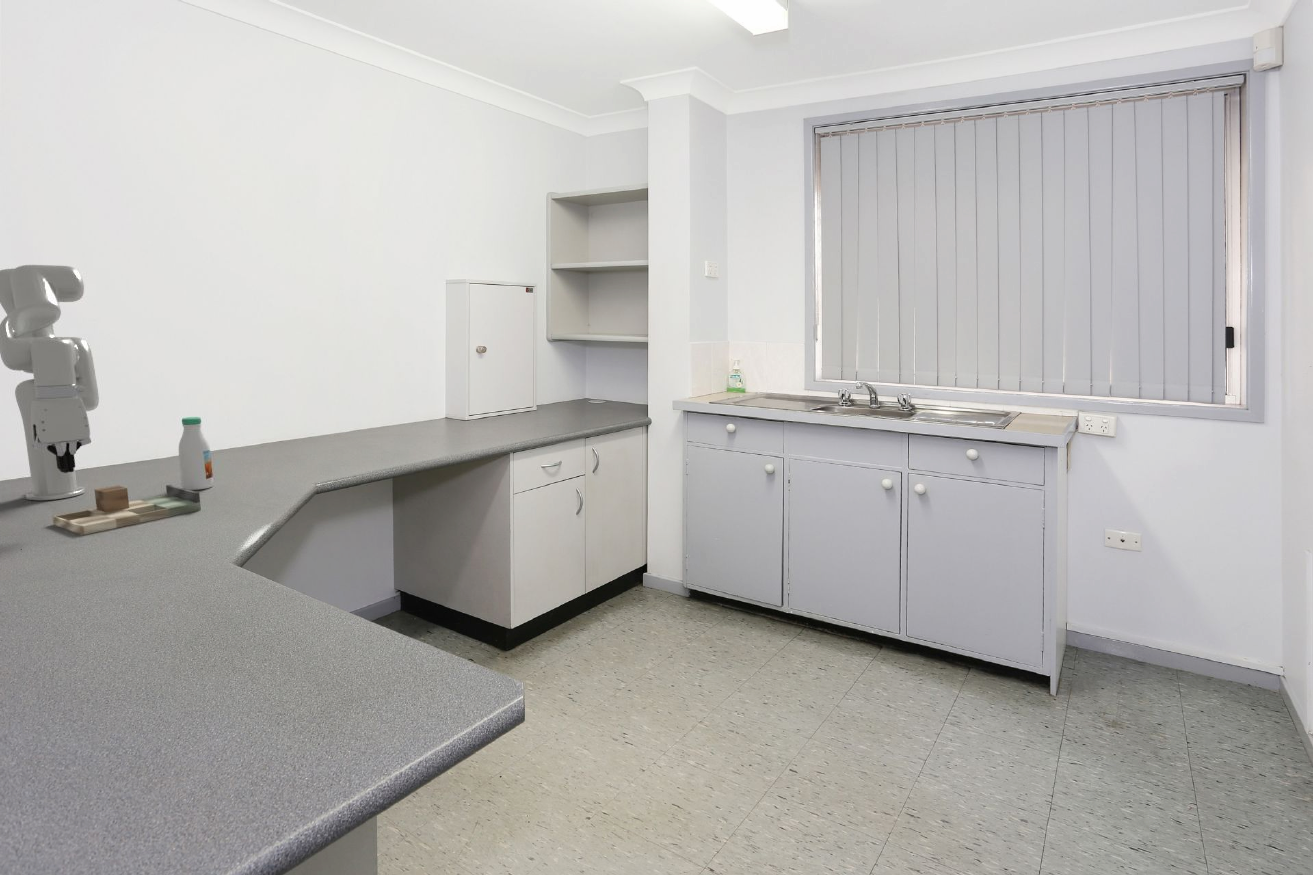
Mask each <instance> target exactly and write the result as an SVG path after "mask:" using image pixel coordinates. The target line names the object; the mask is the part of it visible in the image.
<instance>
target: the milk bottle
mask: <svg viewBox="0 0 1313 875" xmlns="http://www.w3.org/2000/svg"><path fill="white" fill-rule="evenodd" d="M181 424H182V427H183V431H182V435H181V438H180V439H179V440H180V441H179V442H178V443H179V444H178V460H179V471H180V481H181V483H180V484H181V488H183V489H187V490H191V491H197V490H206V489H209V488H212V487H213V486H214V477H213V476H214V474H213V473H214V472H213V466H212V456H211V448H210V447H211V446H210V443H209V441H208V438H207V437H206V436H205V434H204V432H203V430H202V419H201V417H200V416H199V417H198V416H191V417H190V416H189V417H183V418H182V419H181Z"/></svg>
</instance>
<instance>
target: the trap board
mask: <svg viewBox="0 0 1313 875" xmlns="http://www.w3.org/2000/svg"><path fill="white" fill-rule="evenodd" d="M165 489H166V494H164V495H158V496H152V497H147V498H143V499H137V500H132V501H131V500H130V501H129V508H127V509H121V510H116V511H111V512H103V511H100V510H97V507H95V508H89V509H84V510H78V511H73V512H69V513H62V514H58V515H57V514H56V515H53V516H52V523H53V525H54V526H57V527H59V528H62V529H65V530H68V531H70V532H72V533H75V534H77V535H81V536H84V535H88V534H89V535H90V534H93V533H99V532H103V531H108V530H112V529H117V528H121V527H127V526H131V525H136V524H141V523H144V522H146V523H147V522H150V521H151V522H152V521H154V520H159V519H164V518H169V517H173V516H174V517H175V516H179V515H184V514H189V513H193V512H197V511H201V510H202V507H201V497H200V492H199V491H196V490H187V489H183V488H182V487H178V486H175V485H172V484H167V485H165Z"/></svg>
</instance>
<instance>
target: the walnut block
mask: <svg viewBox="0 0 1313 875" xmlns="http://www.w3.org/2000/svg"><path fill="white" fill-rule="evenodd" d="M94 499H95V505H96V506H95V508H97V510H100V511H103V512H111V511H116V510H121V509H127V508H129V502H130V501H129V493H128V488H127V487H126V486H125V487H124V486H122V485H112V486H108V487H107V486H106V487H100V488H95V489H94Z"/></svg>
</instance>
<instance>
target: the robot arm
mask: <svg viewBox="0 0 1313 875" xmlns="http://www.w3.org/2000/svg"><path fill="white" fill-rule="evenodd" d="M84 293H85V284H84V280H83V277H82V275H81V273H80V272H79V270H77V268H75V267H73V266H69V265H48V264H46V265H45V264H44V265H43V264H25V265H19V266H18V267H15V268H6V269H5V268H4V269H0V305H1V307H2V309H3V310H4V312H5V313H6V315H5V317H4V318H3V319H2V320H1V322H0V357H1V361H2V363H3V365H4V366H5V367H6V368H8V369H9V370H12V371H18V372H20V371H23V372H24V373H27V374H31V375H32V374H33V378H31V379H30V378H29V379H26V380H23V381H21V382H19V383H18V384H17V385H16V387H15V389H14V390H15V391H14V395H15V399H16V404H17V406H18V409H19V413H20V416H21V420H22V424H23V430H24V436H25V444H26V450H27V451H26V452H27V458H28V459H27V460H28V464H29V465H28V466H29V473H30V480H31V481H30V482H31V487H32V490H31V491H28V492H26V493H25V499H26V500H29V501H50V500H51V501H52V500H61V499H67V498H72V497H76V496H79V495H82V494H84V493H85V491H86V490H85V487H84V486H80V485H78V482H77V477H76V476H77V475H76V461H75V455H76V453H77V451H78V450H79V449H80V448H81V447H83V446H86V445H89V444H91V443H92V440H91V428H90V422H89V418H88V414H87V412H91V411H94V410H95V409H97V407H98V406H99V402H100V396H99V389H98V383H97V376H96V370H95V363H94V358H93V354H92V349H91V347H90V344H89V343H88V342H87V341H86V340H85V339H83V338H80V337H76V336H75V337H74V336H72V337H71V336H70V337H69V336H67V337H66V336H64V337H63V336H55V332H54V324H55V323H56V322H58V321H59V319H60V318H61V315H62V310H61V306H60V303H75V302H77V301H79V300H81V299H82V298H83V296H84Z"/></svg>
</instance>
